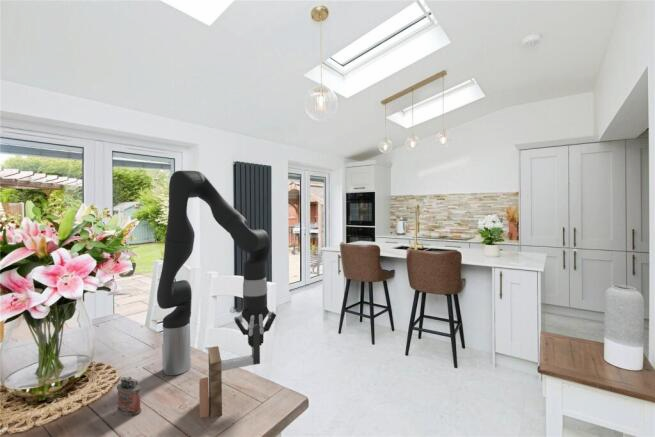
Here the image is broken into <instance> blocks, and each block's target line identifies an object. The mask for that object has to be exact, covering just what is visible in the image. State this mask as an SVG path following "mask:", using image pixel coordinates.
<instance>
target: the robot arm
mask: <svg viewBox="0 0 655 437" xmlns="http://www.w3.org/2000/svg"><path fill="white" fill-rule="evenodd" d="M192 198H193V199H194V198H199V199H201V201H203V202H205V203H206V204H207V205H208V206H209V208H210V210H211V215H212V217H213V219H214V220H215V222H217V224H218V225H219V226H220V227H221V228H223V229H224V230H225V231H226V233H229V234H230V236H231V238H232V240H233V241H234V243H235V244H236V246H237V248H239V249H240V250H241V251H243V252H245V253H247V254H249V257H248V258H247V259H246V260H245V261H244V263H243V283H242V311H241V314H239V315H238V316H235V317H234V318H233V321H234V322H235V324H236V326H237V328H239V330H240V332H241V333H242V335H243V336H247V343H248V346H250V348H252V347H253V335H252V334H253V326H254V324H258V325H259V327H260V347H261V346H263V344H264V333H266V332H269V331H270V329H271V327H272V325H273V323H274V321H275V319H276V317H277V314H276V313H275V311H271V310H270V309H268V283H267V261H268V257H269V252H270V249H271V248H270V246H271V240H270V236H269V233H268V232H267V231H266V230H264V229H261V228H259V229H251V228H249V227H248V220H247V219H246V217H244V216H243V215H242V214H241V213H240V212H239V211H238V210H237V209H236V208H234V207H233V205H231V204H229V202H228V201H227V200H226V199H225V198H224V197H223V196H222V194H221V193H220V192H219V191H218V189H217V188H216V187H215V186H214V185H213V184H212V182H211V181H210V180H209V178H208V177H207V176H206V175H205V174H203V173H202V172H200V171H197V170H176V171H174V172H173V173H172V174H171V176H170V179H169V184H168V215H167V216H168V217H167V228H166V234H165V238H164V252H163V258H162V259H163V262H162V265H161V266H162V267H161V272H160V277H159V281H158V284H157V290H156V291H157V292H156V300H157V301H156V302H157V304H158V307H159V308H160V309H163V310H167V309H172V308H174V310H173V311H171V312H170V313H168V314H167V315H165V316H164V317H163V319H162V354H161V355H162V356H161V358H162V370H163V374H165V375H167V376H177V375H181V374H184V373H186V372H188V371H190V369H191V367H192V363H191V362H192V359H191V353H192V352H191V346H192V345H191V315H192V292H193V291H192V286H191V283H190V282H189V281H188V280H185V279H181V280H177V281H176V280H175V279H176V276H177V274H178V272H179V271H180V269H181V268H182V267H183V266H184V264H185V263H186V262H187V261H188V259H190V256H191V255H192V253H193V250H194V242H195V236H196V235H195V231H194V228H193V225H192V223H191V221H190V220H189V216H188V202H189V199H192ZM266 317H267V320H266V321H265V324H264V320H265V319H266ZM243 320H245V321H246V323H247V329H246V328H245V326H244V325H243Z"/></svg>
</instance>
